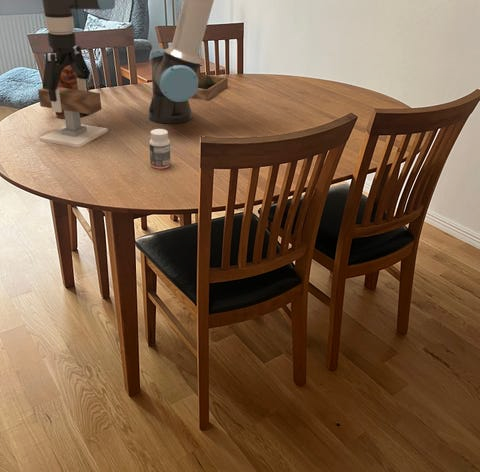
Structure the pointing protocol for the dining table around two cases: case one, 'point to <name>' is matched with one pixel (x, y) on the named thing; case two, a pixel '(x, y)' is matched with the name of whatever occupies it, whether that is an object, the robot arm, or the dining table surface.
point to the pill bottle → (160, 149)
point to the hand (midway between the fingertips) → (70, 105)
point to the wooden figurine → (68, 85)
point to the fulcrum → (73, 132)
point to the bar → (73, 100)
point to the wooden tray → (212, 89)
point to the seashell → (204, 81)
